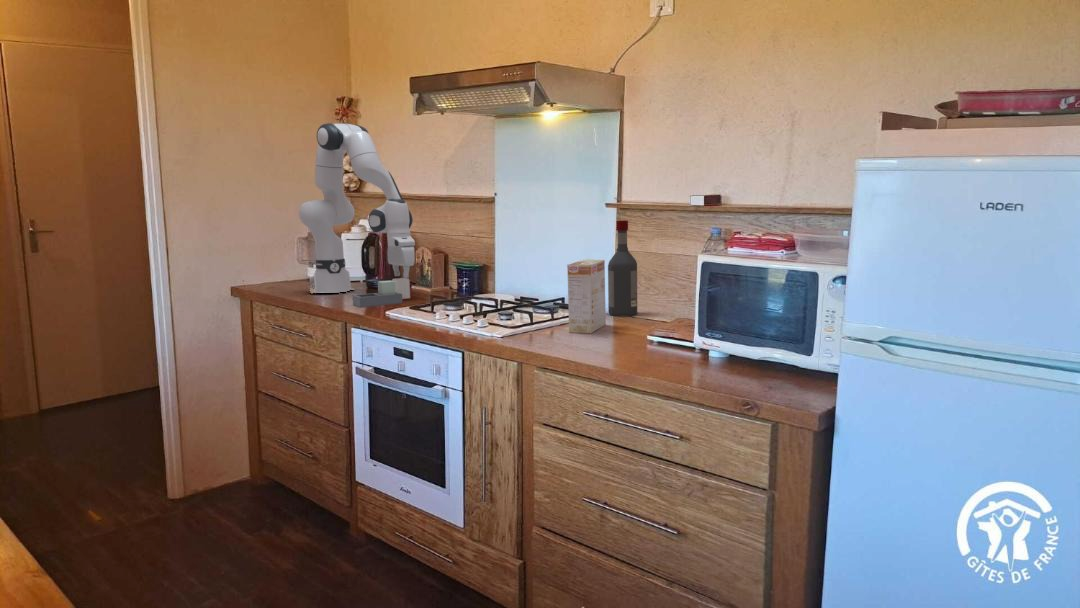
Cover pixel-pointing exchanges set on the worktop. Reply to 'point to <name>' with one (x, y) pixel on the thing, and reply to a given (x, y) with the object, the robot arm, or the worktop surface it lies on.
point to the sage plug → (386, 287)
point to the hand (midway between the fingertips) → (401, 276)
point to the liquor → (622, 277)
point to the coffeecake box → (586, 295)
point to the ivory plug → (402, 287)
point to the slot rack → (376, 299)
